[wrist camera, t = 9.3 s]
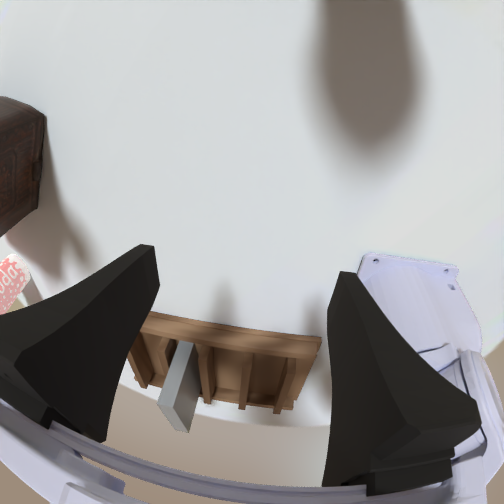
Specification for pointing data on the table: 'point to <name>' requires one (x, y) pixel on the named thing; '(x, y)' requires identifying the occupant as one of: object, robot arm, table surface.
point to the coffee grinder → (19, 160)
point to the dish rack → (227, 360)
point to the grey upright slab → (181, 387)
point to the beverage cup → (12, 280)
